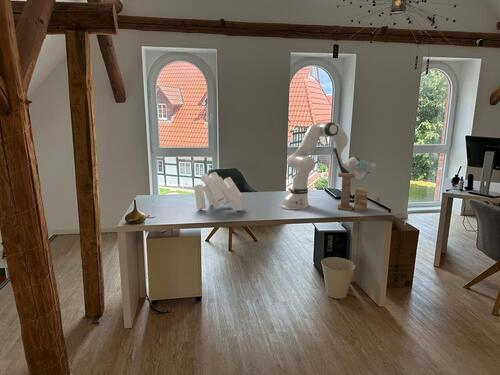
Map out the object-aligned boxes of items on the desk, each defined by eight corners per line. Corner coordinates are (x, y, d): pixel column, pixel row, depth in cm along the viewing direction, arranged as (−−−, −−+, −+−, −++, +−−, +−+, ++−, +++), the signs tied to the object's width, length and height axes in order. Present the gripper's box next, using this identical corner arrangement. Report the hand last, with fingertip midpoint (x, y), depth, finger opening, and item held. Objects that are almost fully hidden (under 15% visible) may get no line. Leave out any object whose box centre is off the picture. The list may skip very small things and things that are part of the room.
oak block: (354, 206, 267) (355, 187, 264) (365, 207, 265) (366, 188, 262) (354, 211, 256) (356, 191, 253) (366, 211, 254) (367, 191, 251)
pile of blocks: (245, 210, 276) (232, 169, 282) (247, 206, 247) (231, 160, 252) (203, 224, 273) (190, 182, 278) (199, 221, 244) (185, 175, 249)
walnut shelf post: (336, 206, 269) (338, 172, 264) (352, 206, 267) (354, 173, 261) (336, 209, 260) (338, 175, 254) (353, 210, 257) (355, 175, 251)
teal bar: (359, 164, 265) (359, 159, 264) (364, 164, 264) (364, 159, 263) (361, 168, 244) (361, 163, 243) (366, 169, 243) (366, 164, 242)
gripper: (347, 164, 276) (348, 157, 263) (374, 165, 272) (376, 158, 259) (346, 171, 274) (347, 165, 262) (374, 172, 270) (376, 166, 257)
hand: (362, 162), depth 260 cm, fingers closed on teal bar, 3 cm apart
